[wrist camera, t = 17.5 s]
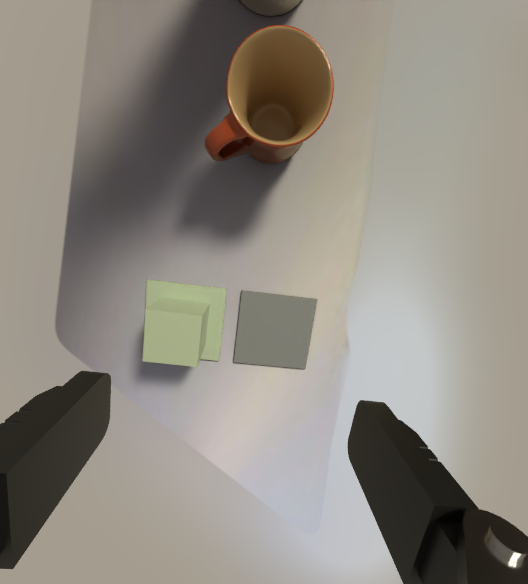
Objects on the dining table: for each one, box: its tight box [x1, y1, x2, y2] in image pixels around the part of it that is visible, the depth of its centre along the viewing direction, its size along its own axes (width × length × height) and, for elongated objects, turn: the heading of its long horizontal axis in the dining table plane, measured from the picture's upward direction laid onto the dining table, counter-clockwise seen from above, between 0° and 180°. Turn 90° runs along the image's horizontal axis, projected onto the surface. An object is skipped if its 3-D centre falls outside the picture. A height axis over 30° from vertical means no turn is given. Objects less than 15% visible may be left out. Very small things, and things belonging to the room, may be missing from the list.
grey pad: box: [234, 291, 317, 369], centre depth 37 cm, size 10×10×1 cm
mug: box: [205, 25, 334, 164], centre depth 27 cm, size 12×9×10 cm
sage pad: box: [145, 280, 227, 361], centre depth 36 cm, size 10×10×1 cm
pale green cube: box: [143, 297, 210, 367], centre depth 33 cm, size 6×6×6 cm
